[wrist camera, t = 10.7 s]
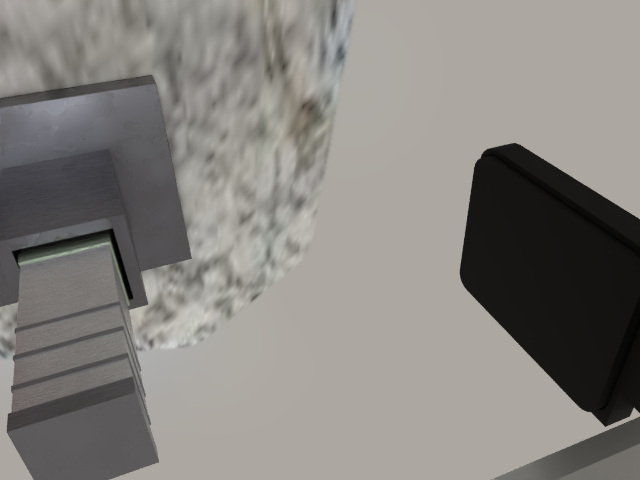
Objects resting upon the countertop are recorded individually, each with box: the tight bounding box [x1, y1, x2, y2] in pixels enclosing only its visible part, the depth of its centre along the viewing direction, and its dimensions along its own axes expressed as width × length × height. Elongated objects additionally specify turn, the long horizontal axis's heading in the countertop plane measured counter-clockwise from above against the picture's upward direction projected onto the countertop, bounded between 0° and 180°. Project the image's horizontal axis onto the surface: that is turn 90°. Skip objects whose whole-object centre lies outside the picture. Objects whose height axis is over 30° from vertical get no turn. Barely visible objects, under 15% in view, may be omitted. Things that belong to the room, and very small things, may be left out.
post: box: [7, 229, 159, 480], centre depth 32 cm, size 5×5×17 cm
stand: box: [0, 75, 192, 310], centre depth 40 cm, size 16×16×12 cm
